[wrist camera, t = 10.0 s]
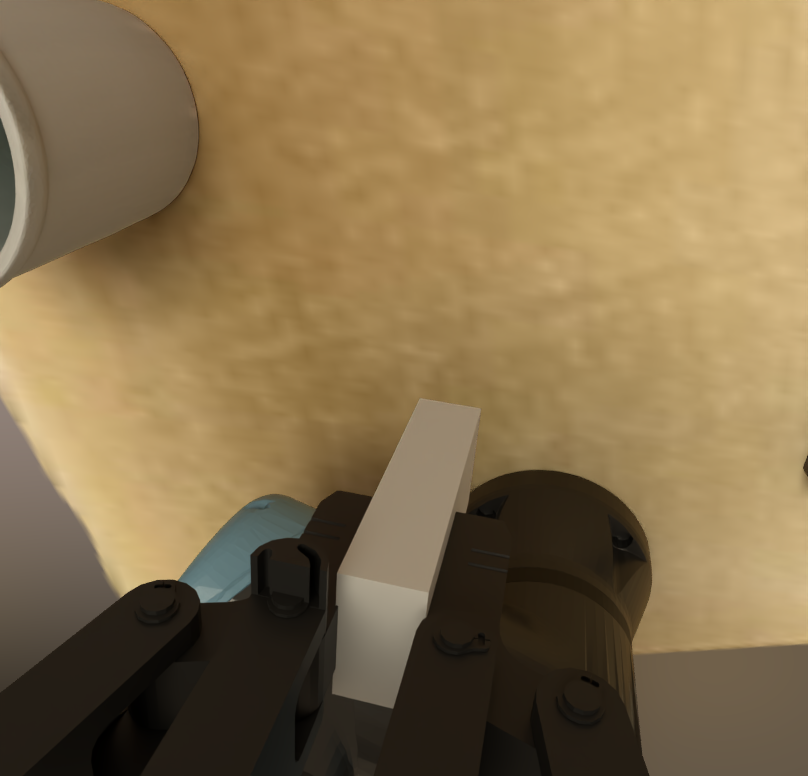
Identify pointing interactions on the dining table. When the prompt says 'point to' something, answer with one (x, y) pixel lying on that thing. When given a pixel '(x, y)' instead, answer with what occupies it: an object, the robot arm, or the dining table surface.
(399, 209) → the dining table surface
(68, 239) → the utensil holder
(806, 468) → the base
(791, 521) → the dining table surface
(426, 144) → the dining table surface
